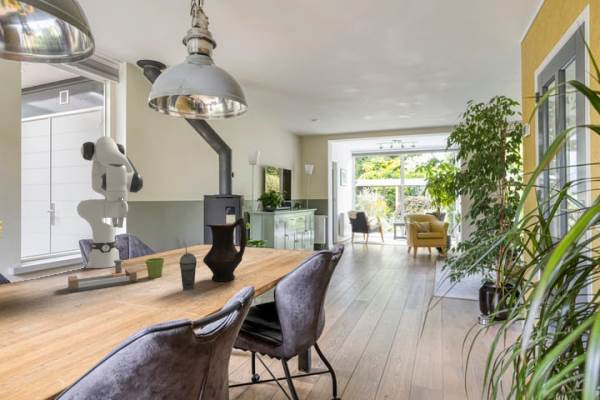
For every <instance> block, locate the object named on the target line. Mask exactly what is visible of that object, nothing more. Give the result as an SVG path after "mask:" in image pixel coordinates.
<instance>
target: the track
mask: <svg viewBox="0 0 600 400" xmlns="http://www.w3.org/2000/svg"><path fill="white" fill-rule="evenodd" d="M124 272H125V273H126V276H123V277H115V278H111V273H110V274H103V275H101V274H100V275H96V276H95V275H94V276H88V277H81V278H80V277H79V278H78V276H77V275H69V276H67V281H68V282H67V285H68V286H67V288H68V291H69V293H75V292H76V293H77V292H82V291H89V290H90V291H91V290H96V289H97V290H98V289H104V288H109V287H116V286H123V285H129V284H136V283H138V282H137V281H138V279H137V271H136V270H135V269H133V268H126V269H124Z"/></svg>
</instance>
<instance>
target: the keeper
mask: <svg viewBox="0 0 600 400" xmlns="http://www.w3.org/2000/svg"><path fill="white" fill-rule="evenodd" d="M114 263H115V266H114V267H115V268H114V269H115V271H113V272H112V271H111V273H110V274H111V278H115V277H123V276H126V273H125V270H122V268H123V267H122V264H123V263H124V261H123V259H119V260H115V261H114Z"/></svg>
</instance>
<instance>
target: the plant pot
mask: <svg viewBox="0 0 600 400" xmlns="http://www.w3.org/2000/svg"><path fill="white" fill-rule="evenodd" d="M165 260H166V258H164V257H151V258H148V259H145V260H144V262H145V265H146V269H147V274H148V278H150V279H152V278H154V279H156V278H160V277H162V276H163V267H164V262H165Z"/></svg>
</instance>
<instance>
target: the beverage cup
mask: <svg viewBox="0 0 600 400" xmlns="http://www.w3.org/2000/svg"><path fill="white" fill-rule="evenodd" d="M184 248H185V253H184V254H182V256H181V257H180V259H179V263H178V264H179V268H180V277H181V283H182V284H181V285H182V291H185V292H187V291H189V292H190V291H193V290H194V289H195V282H196V267H197V263H198V261H197V258H196V256H195V255H194V254H193V253H190V252H189V253H188V249H187V243H186V242H184Z"/></svg>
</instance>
